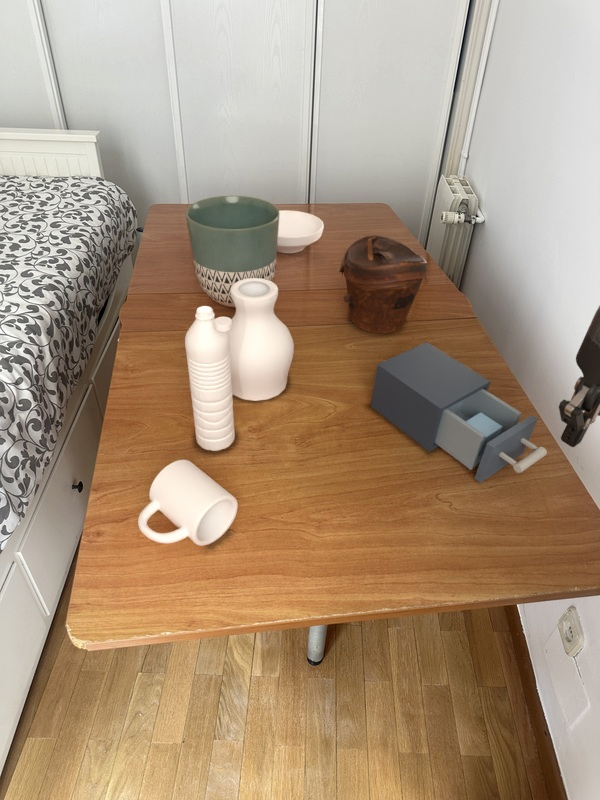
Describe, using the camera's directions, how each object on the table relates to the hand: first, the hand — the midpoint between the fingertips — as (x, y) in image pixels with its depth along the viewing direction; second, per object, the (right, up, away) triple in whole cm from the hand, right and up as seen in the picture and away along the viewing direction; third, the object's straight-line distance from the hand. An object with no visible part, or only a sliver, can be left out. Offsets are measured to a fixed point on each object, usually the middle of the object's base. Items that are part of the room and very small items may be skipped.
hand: (569, 441), depth 75 cm
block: (-8, -1, +15) cm, 17 cm away
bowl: (-41, +49, +78) cm, 101 cm away
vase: (-46, +9, +29) cm, 55 cm away
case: (-20, +24, +49) cm, 59 cm away
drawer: (-8, -3, +15) cm, 17 cm away
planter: (-53, +29, +53) cm, 81 cm away
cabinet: (-15, +3, +23) cm, 28 cm away
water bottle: (-51, -1, +16) cm, 54 cm away
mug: (-54, -13, +2) cm, 56 cm away
